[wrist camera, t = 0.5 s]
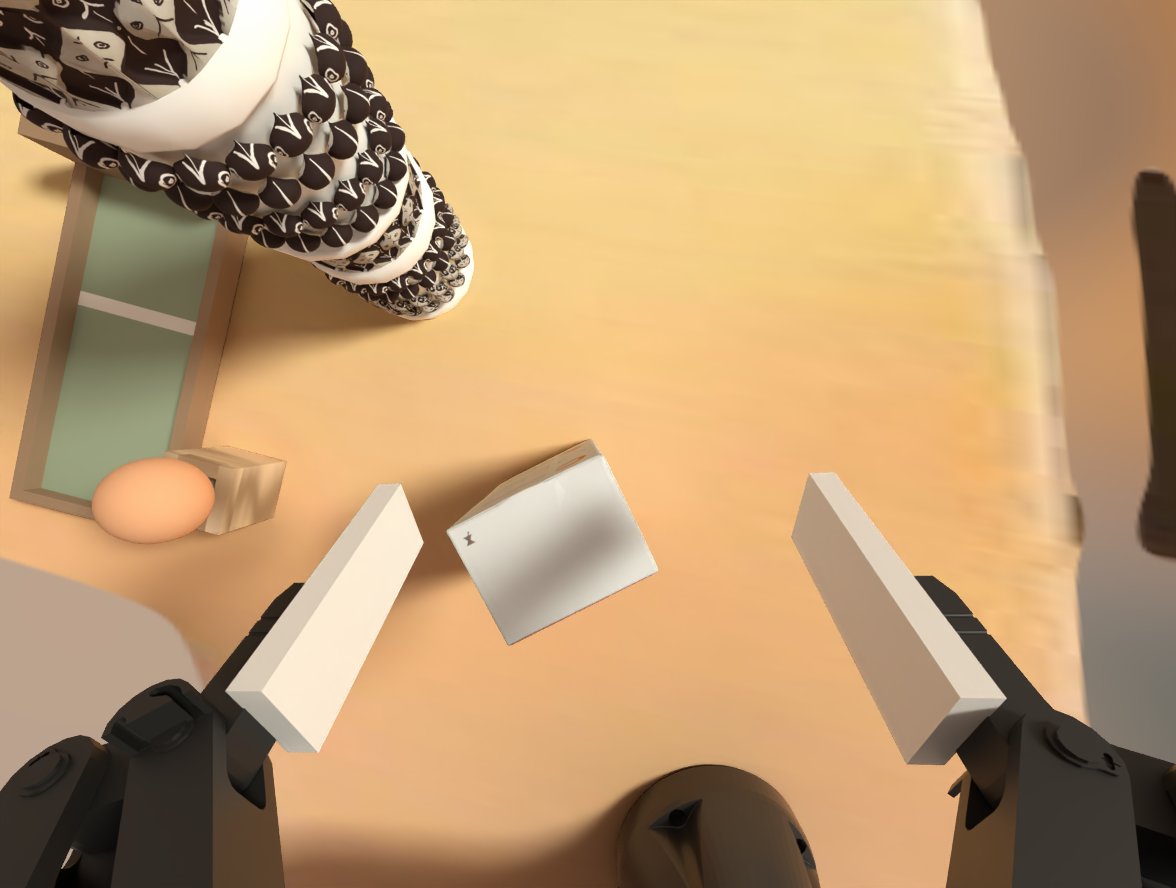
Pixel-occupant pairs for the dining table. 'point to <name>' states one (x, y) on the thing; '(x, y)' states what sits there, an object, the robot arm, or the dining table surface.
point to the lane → (122, 335)
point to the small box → (552, 542)
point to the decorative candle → (245, 131)
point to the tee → (236, 485)
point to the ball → (153, 500)
